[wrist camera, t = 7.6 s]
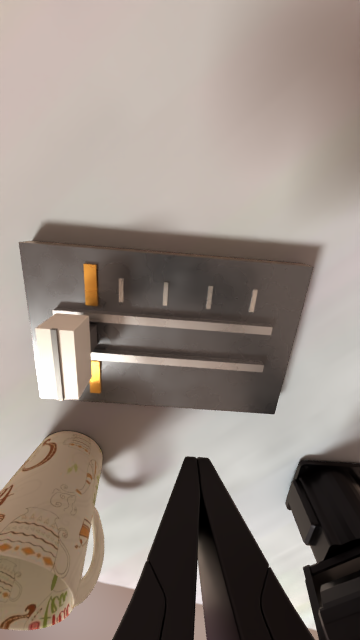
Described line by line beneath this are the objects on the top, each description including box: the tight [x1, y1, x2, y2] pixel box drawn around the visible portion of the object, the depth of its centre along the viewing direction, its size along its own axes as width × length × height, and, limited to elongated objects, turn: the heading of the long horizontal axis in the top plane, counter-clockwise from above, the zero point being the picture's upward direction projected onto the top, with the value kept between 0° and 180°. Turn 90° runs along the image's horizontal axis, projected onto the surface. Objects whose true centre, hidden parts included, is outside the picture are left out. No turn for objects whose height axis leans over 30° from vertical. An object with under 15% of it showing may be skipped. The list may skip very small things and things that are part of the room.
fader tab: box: [35, 313, 97, 401], centre depth 16 cm, size 2×4×5 cm, turn 175°
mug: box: [0, 431, 104, 630], centre depth 21 cm, size 8×13×10 cm, turn 27°
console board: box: [19, 241, 313, 414], centre depth 19 cm, size 19×12×2 cm, turn 85°
